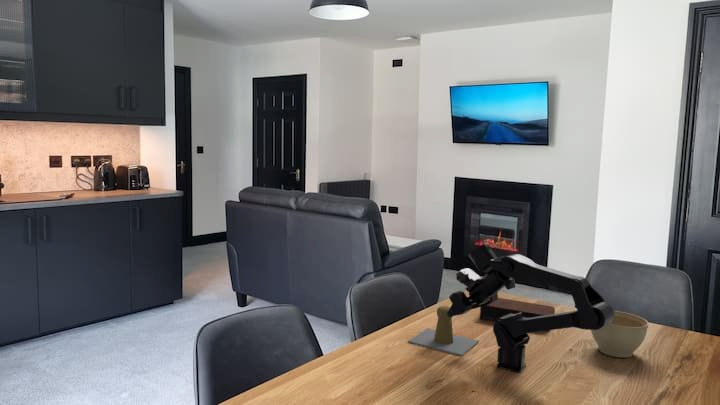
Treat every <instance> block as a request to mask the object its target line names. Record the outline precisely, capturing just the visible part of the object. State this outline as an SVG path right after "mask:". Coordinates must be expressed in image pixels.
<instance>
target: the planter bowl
mask: <svg viewBox="0 0 720 405" xmlns="http://www.w3.org/2000/svg"><path fill="white" fill-rule="evenodd" d="M613 311H614V319H613V321H612V322H611V323H609V324H608V325H606V326H604V327H602V328H600V329H598V330H590V332H591V334H592V337H593V339H594V341H595V343H596V345H597V348H598V351H600V352H601V353H602V354H605V355H607V356H611V357H614V358H615V357H616V358H631V357H632V356H633V355H634V353H635V351H637V349H639V348H640V346H641V345H642V344H643V343H644V340H645V339H646V336H647V331H648V328H649V321H647V320H646V319H645V318H643V317H641V316H638V315H636V314H632V313H628V312H623V311H618V310H613Z"/></svg>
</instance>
